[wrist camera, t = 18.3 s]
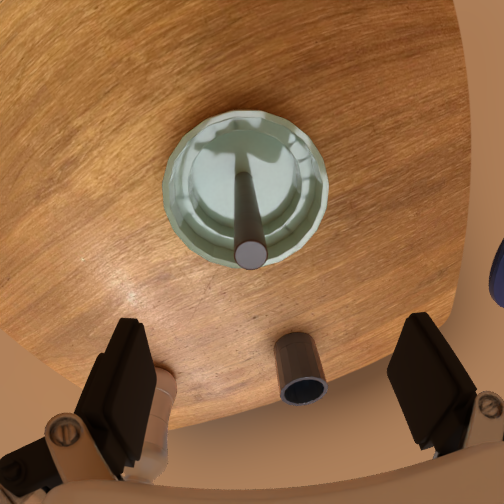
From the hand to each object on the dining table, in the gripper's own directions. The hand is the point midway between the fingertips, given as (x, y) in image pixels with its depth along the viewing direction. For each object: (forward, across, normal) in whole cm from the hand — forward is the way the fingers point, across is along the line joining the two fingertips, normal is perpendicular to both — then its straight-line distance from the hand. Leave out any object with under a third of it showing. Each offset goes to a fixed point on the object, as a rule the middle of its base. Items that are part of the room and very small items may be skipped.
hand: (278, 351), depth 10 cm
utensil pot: (+24, -6, +23) cm, 33 cm away
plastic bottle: (+24, +14, +29) cm, 40 cm away
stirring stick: (+23, +1, 0) cm, 23 cm away
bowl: (+23, +1, 0) cm, 23 cm away
